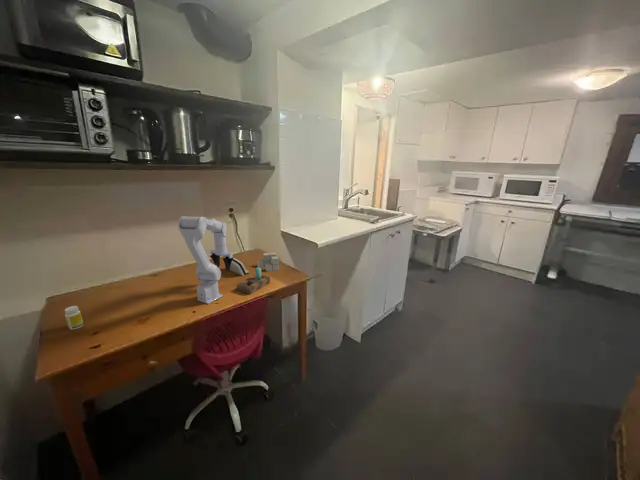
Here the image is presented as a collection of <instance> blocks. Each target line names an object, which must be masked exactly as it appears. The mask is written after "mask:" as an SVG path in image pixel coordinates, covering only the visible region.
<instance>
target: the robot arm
mask: <svg viewBox="0 0 640 480" xmlns="http://www.w3.org/2000/svg"><path fill="white" fill-rule="evenodd" d="M227 226H228V225H227V223H226V222H224V221H220V220H218V219H216V218H214V217H210V218H209V219H208V218H207V217H206V216H185V215H182V216H180V217H179V219H178V224H177V228H178V231H179V232H180V235H181V236H182V237H183V238H184V242H185V244H186V246H187V248H188V250H189V251H190V253H191V256H192V257H193V259H194V261H195V263H196V265H197V267H196V268H195V274H196V279H197V280H198V281H199V282H200V284H198V285H197V286H196V293H197V298H196V300H197V301H199V302H201V303H204V304H208V305H209V304H211V303H212V302H215V301H216V300H219V299H220V298H222V297H223V296H224V295H223V294H221V293H220V292H219V291H220V290H219V280H221V276H222V271H221V270H220V268H219V267H220V265H221V263H220V259H221V256H222V257H223V258H222V260H223V262H224V267H225V271H229V269H230V265H231V262H232V260H233V258H234V256H233V255H234V253H231V252H229V250H228V249H227V247H228V246H227V237H226V236H227V229H228V227H227ZM206 230H208V231H210V232H211V233H213V239H214V240H213V241H214V249H211V250H210V251H209V253H210V255H209V257H210V258H211V260H212V262H213V263H212V262H211V261H210V259H209V257H208V255H207V253H206V250H205V248H204V246H203V244H202V242H201V240H202V239H204V236H205V233H206Z"/></svg>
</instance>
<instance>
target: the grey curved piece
mask: <svg viewBox="0 0 640 480" xmlns="http://www.w3.org/2000/svg"><path fill="white" fill-rule="evenodd" d="M229 270H230V271H232V272H234V273H235V274H238V275H240V276H242V277H243V276H245V274H250V271H249V270H247V268H246V267H245V265H244V263H243V262H242V261H240V260H239V259H237V258H235V257H233V260H232V262H231V265H230V269H229ZM229 270H228V271H229Z"/></svg>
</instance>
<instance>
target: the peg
mask: <svg viewBox="0 0 640 480" xmlns="http://www.w3.org/2000/svg"><path fill="white" fill-rule="evenodd" d="M255 274H256V279H257V280H260V279H262V278H261V275H262V267H256V268H255Z"/></svg>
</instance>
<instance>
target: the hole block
mask: <svg viewBox="0 0 640 480" xmlns="http://www.w3.org/2000/svg"><path fill="white" fill-rule="evenodd" d="M261 278H262V279H260V280H257V279H256V273H254V275H252V276H250V277H248V278H246V279H244V280H242V281H240V282H238V283H237V284H236V290H237V291H239V292H241V293H245V294H248V295H251V294H253V293H255V292H257V291H258V290H260V289H262V288H264V287H265V286H267V285H268V284H270V283H271V276H268V275H264V274H261Z"/></svg>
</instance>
